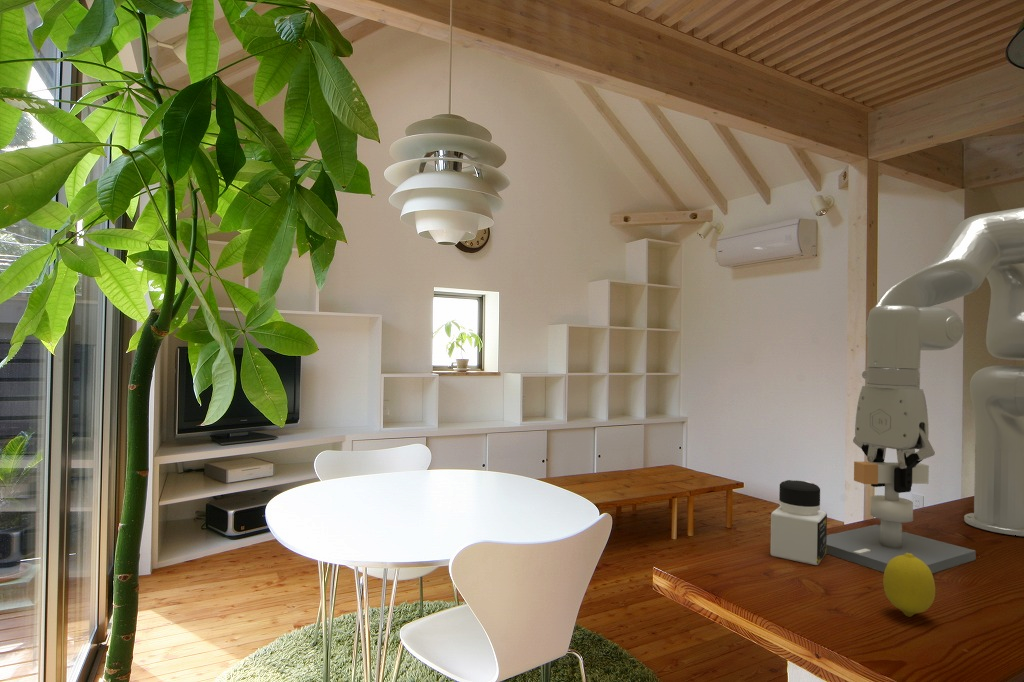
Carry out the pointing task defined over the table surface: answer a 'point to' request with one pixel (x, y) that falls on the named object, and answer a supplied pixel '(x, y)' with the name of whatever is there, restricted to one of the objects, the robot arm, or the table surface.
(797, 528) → the medicine bottle
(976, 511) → the robot arm
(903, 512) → the grey and orange blocks
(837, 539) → the coupling base
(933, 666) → the table surface
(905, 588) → the lemon
